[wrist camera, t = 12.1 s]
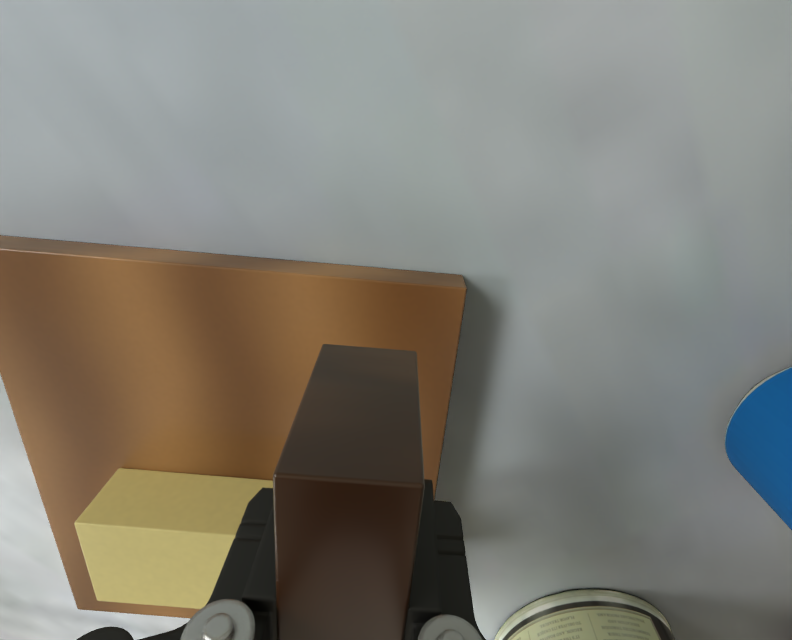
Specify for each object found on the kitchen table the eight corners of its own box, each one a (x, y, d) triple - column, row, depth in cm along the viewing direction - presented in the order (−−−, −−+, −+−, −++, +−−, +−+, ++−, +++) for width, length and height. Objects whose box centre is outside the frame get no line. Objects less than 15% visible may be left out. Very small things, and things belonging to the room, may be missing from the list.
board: (95, 583, 26) (77, 609, 24) (-8, 234, 17) (-43, 244, 16) (413, 608, 26) (413, 636, 24) (463, 274, 17) (467, 288, 16)
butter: (135, 540, 22) (96, 601, 19) (118, 467, 20) (72, 522, 17) (280, 552, 22) (261, 615, 19) (277, 480, 20) (256, 538, 17)
